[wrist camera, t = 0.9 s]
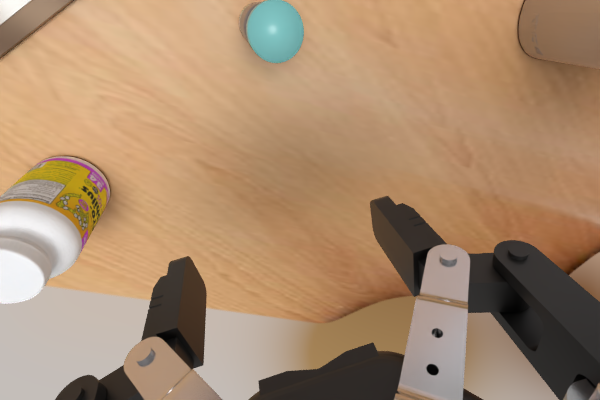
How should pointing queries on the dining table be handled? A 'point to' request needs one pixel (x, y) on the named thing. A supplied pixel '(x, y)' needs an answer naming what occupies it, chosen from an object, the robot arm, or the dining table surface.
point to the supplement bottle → (47, 223)
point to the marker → (272, 29)
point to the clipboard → (24, 19)
